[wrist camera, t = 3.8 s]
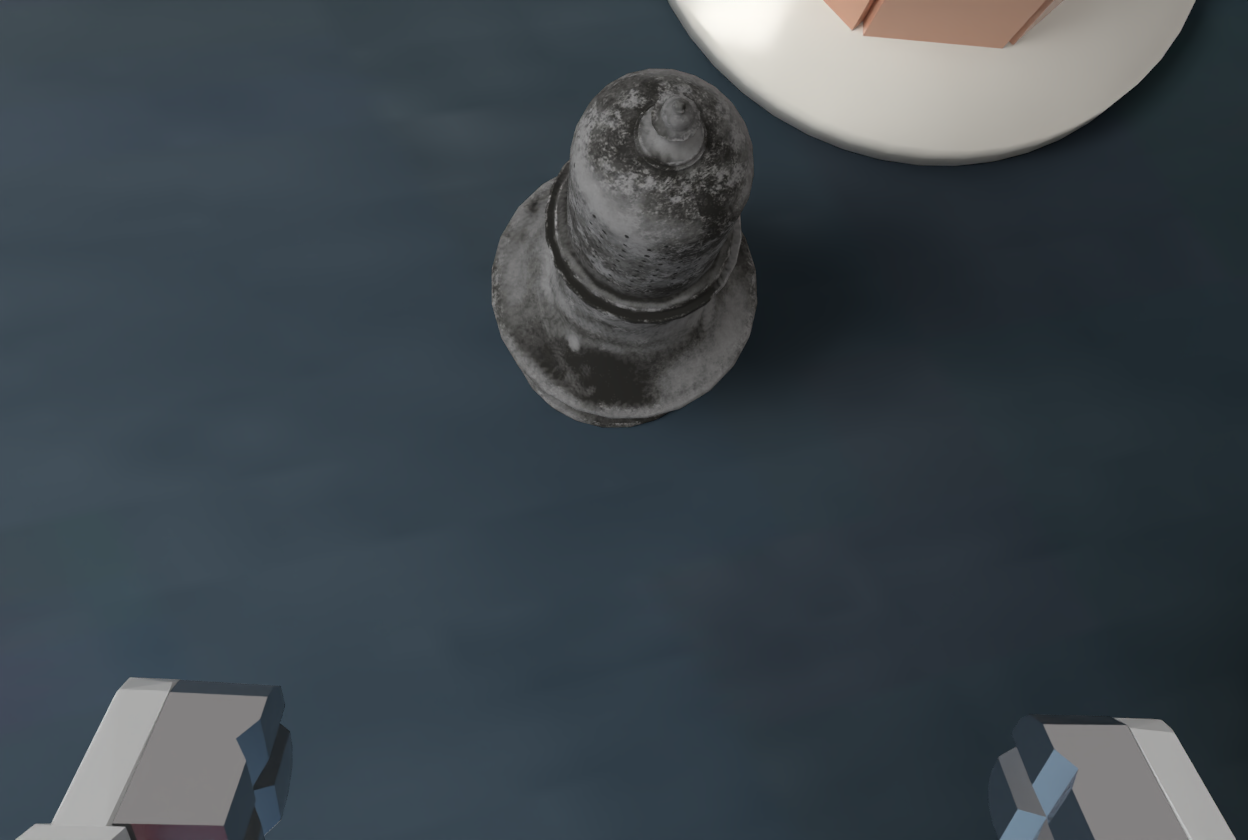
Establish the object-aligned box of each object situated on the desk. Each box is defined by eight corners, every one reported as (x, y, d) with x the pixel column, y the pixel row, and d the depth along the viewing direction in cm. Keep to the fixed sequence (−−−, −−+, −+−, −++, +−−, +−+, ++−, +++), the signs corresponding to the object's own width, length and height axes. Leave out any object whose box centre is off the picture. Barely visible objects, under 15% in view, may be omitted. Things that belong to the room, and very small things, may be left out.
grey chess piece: (670, 183, 25) (783, -154, 13) (764, 385, 25) (970, 220, 13) (462, 265, 24) (385, -15, 12) (553, 476, 24) (563, 391, 12)
